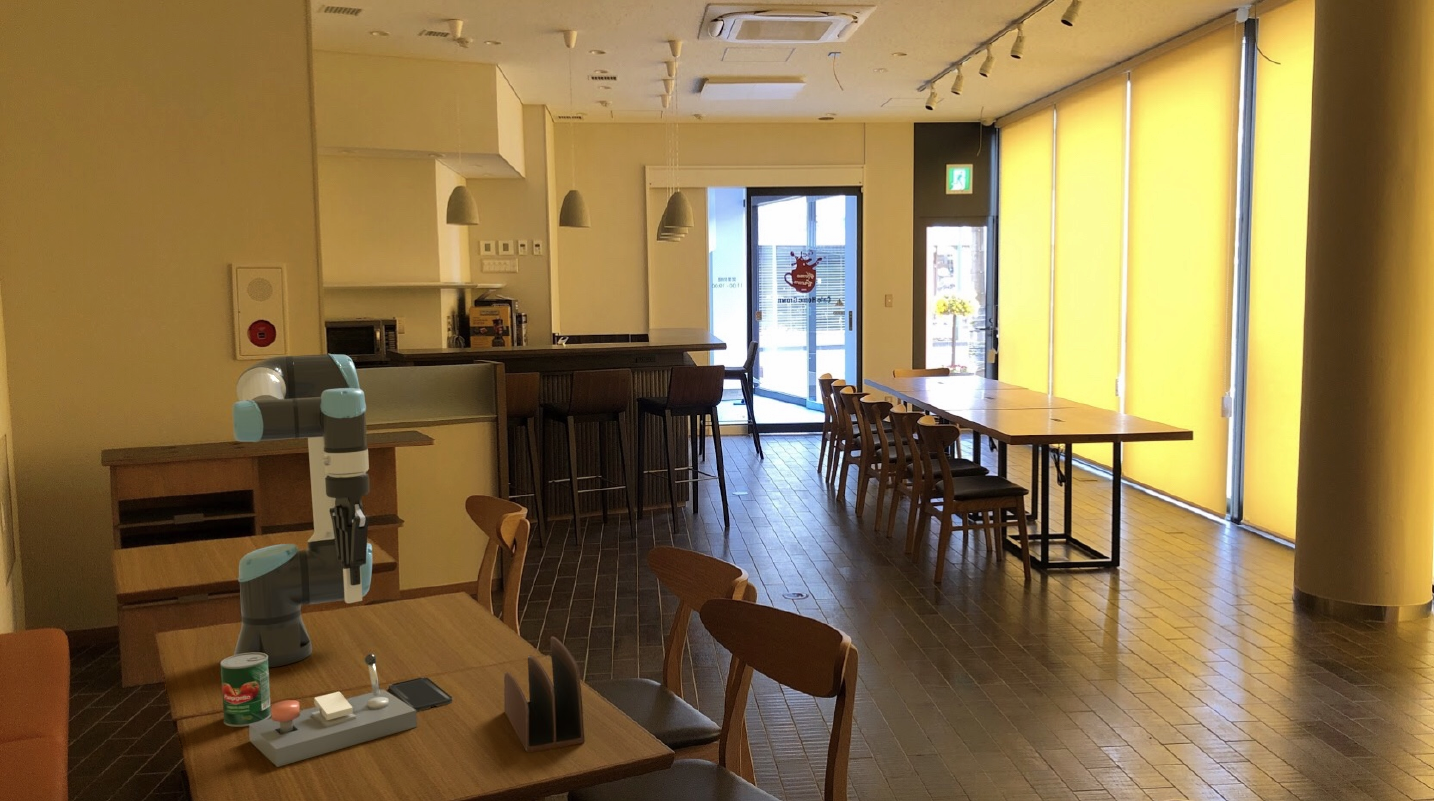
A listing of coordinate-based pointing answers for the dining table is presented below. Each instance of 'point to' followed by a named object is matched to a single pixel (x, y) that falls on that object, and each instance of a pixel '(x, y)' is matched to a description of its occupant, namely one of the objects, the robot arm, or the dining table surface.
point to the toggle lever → (373, 673)
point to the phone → (420, 693)
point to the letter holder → (547, 703)
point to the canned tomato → (245, 689)
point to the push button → (285, 714)
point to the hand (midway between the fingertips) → (353, 601)
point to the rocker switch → (333, 705)
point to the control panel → (333, 728)
